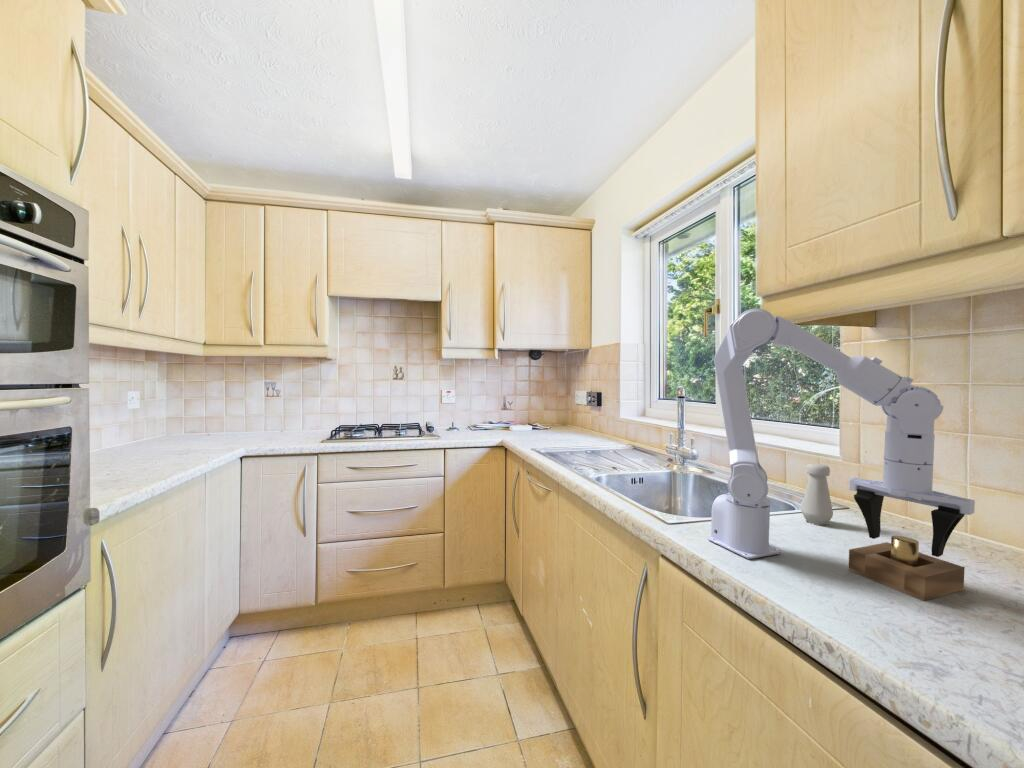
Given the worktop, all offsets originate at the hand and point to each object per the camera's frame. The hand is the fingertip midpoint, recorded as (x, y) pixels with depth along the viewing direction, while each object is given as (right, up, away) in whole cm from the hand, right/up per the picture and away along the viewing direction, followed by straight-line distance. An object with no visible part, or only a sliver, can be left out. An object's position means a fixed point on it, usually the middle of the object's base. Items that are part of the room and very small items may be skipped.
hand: (904, 545), depth 67 cm
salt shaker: (+5, -5, +26) cm, 27 cm away
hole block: (0, -6, 0) cm, 6 cm away
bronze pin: (0, -5, 0) cm, 5 cm away
